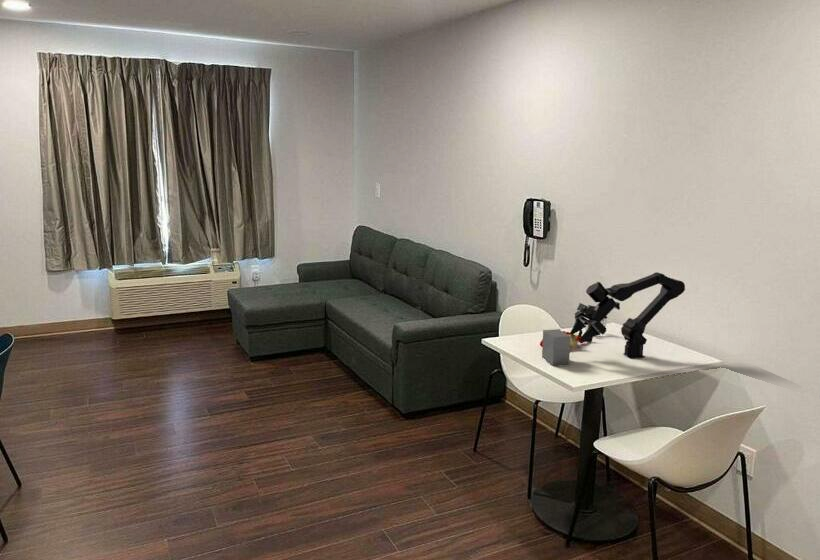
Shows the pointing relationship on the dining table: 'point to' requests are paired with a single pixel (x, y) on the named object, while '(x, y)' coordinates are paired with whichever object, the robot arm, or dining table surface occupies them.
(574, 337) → the gold cylindrical piece
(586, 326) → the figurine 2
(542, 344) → the figurine
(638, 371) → the dining table surface
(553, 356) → the housing
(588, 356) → the dining table surface
